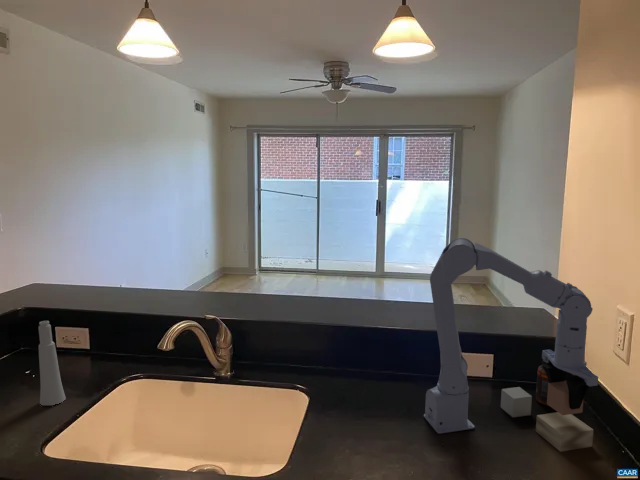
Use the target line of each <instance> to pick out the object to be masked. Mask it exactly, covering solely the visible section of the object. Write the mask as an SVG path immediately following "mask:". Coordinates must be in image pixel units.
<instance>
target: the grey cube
mask: <svg viewBox="0 0 640 480" xmlns="http://www.w3.org/2000/svg"><path fill="white" fill-rule="evenodd" d="M500 392H501V395H500V408H501V409H502V410H503V411H504V412H505V413H507V414H508V415H509V416H510V417H511V418H518V417H519V418H520V417H525V416H527V417H528V416H531V415H532V414H531V413H532V402H533V401H532V400H533V396H532V395H531V394H530V393H528V392H527V391H525V390H524V389H523V388H522V387H520V386H517V387H507V388H502V389H501V391H500Z"/></svg>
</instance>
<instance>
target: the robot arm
mask: <svg viewBox="0 0 640 480" xmlns="http://www.w3.org/2000/svg"><path fill="white" fill-rule="evenodd" d="M474 267H475V270H476V271H481V270H482V271H484V270H491V271H494V272H496V273H498V274H500V275H502V276H504V277H506V278H508V279H511V280H512V281H514V282H517V283H519V284H520V285H522V286H523V289H524V293H526V294H527V295H529V296H531V297H533V298H535V299H536V300H538V301H540V302H542V303H544V304H546V305H548V306H550V307H551V308H555V309H558V312H557V313H558V315H557V321H556V329H555V331H556V333H555V342H554V351H553V350H552V349H543V350H542V352H541V359H542V360H543V359H544V360H549V362H548V364H542V365H543V369H544V371H545V373H546V375H547V377H548V380H549V383H554V382H562V381H566V383H567V386H568V390H569V407H570V408H571V409H579V408H580V406H581V404H582V401H583V402H584V400H585V399H584V398H585V396H586V395H587V394H588V392H589V391H590V389H592V387H595V386H598V385H599V376H598V375H597V374H595V373H594V372H592V371H591V370H590V369H589V367H587V365H588V364H587V361H586V360H585V353H586V352H585V351H586V342H587V341H586V340H587V333H588V332H587V329H588V325H587V324H588V323H587V322H588V318H589V317H590V315H591V314H592V312H593V307H592V304H591V301H590V299H589V298H588V297H587V296H586V294H585V293H584V292H583V290H581V289H580V288H578V287H577V286H576V285H573V284H572V283H570V282H567V283H565V282H563V281H562V280H559V279H557V278H556V277H553V274H552V273H551V272H550V271H549V270H544V272H543V270H539V269H538V270H532V271H529V270H527V269H526V268H524V267H522V266H520V265H519V264H517V263H515V262H513V261H512V260H510V259H508V258H506V257H504V256H503V255H501V254H499V253H498V252H496V251H494V250H493V249H491V248H488V247H486V246H484V245H482V244H480V243H477V242H474V243H473V242H472V241H471V240H470V239H468V238H466V237H458V238H455V239H454V240H452V241H451V242H450V243H449V244H447V246H445V247H444V248H443V250H442V252H441V254H440V255H439V258H438V259H437V262H436V263H435V266H434V268H433V269H432V270H431V273H430V276H429V283H430V291H431V296H432V297H431V298H432V305H433V311H434V317H435V319H434V320H435V325H436V330H437V331H436V332H437V339H438V347H439V352H440V353H439V355H440V373H439V376H438V381H437V384H436V386H434V387H432V388H429V389H427V390H426V393H425V409H424V414H423V417H424V419H425V420H426V421H427V422H428V424H429V425H430V426H431V427H432V428H433V430H434V431H435V432H436V433H437V434H445V433H453V432H461V431H465V430H466V431H467V430H474V429H476V426H475V425H474V424H473V423H472V422H471V421H470V420H469V419H468V417H469V416H468V412H469V397H470V396H469V394H470V391H469V390H470V386H469V383H468V376H467V375H468V363H467V360H466V358H465V357H464V356H463V353H462V348H461V345H460V344H461V343H460V337H459V330H458V324H457V323H458V322H457V315H456V309H455V303H454V302H455V300H454V293H453V287H452V284H453V282H455V280H456V279H458V278H459V276H462V275H464V274H466V273H468V272H469V271H472V269H473V268H474ZM568 373H569V374H571V375H573V376H574V377H568V378H567V374H568ZM583 399H584V400H583Z"/></svg>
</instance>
